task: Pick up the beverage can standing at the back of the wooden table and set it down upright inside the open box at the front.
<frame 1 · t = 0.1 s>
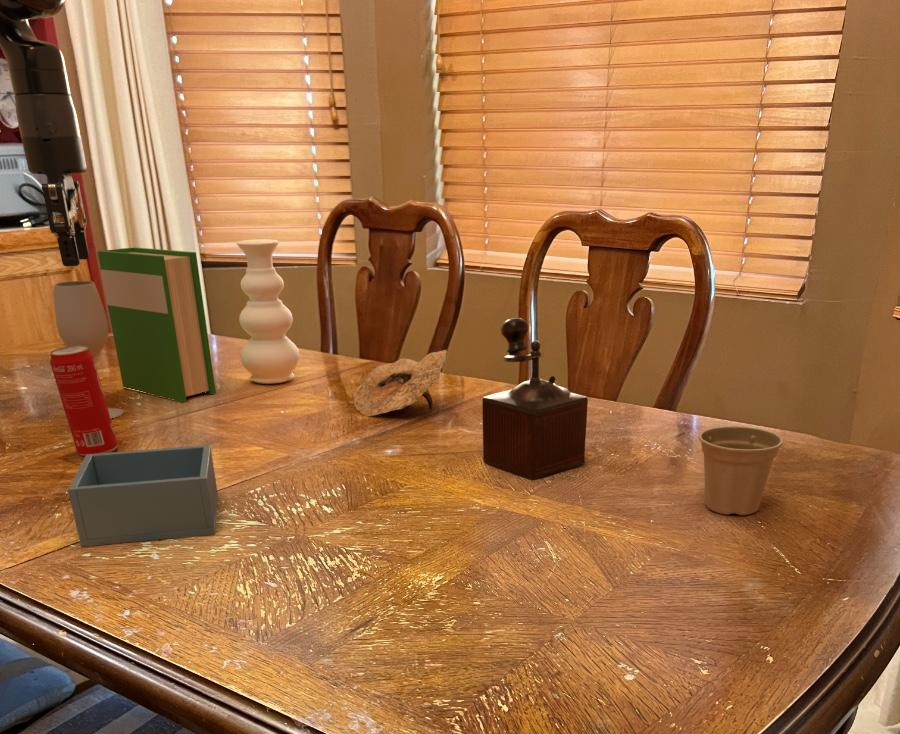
hand: (76, 262, 123), 25 cm above the table, tool pointing down, fingers open, 8 cm apart
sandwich: (397, 409, 146), on the table
hardback book: (169, 392, 159), on the table
manual coffee grinder: (522, 459, 121), on the table
beverage can: (95, 453, 127), on the table
open box: (154, 520, 103), on the table
vase: (273, 381, 165), on the table
wineglass: (101, 416, 145), on the table
flower pot: (730, 508, 104), on the table
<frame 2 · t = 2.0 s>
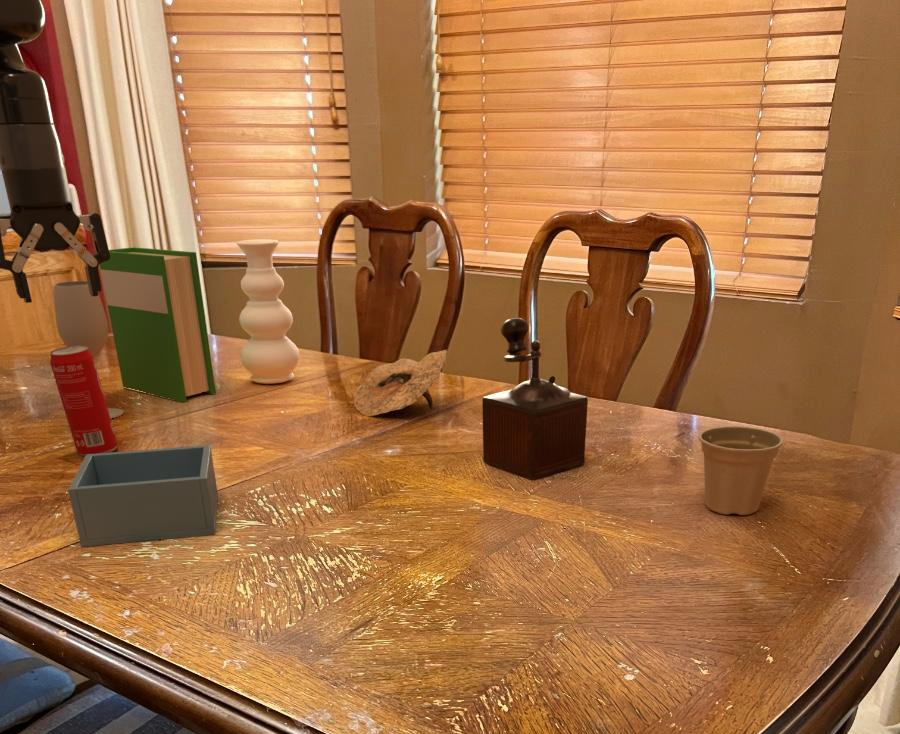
hand: (61, 298, 117), 22 cm above the table, tool pointing down, fingers open, 8 cm apart
nothing on the table moved.
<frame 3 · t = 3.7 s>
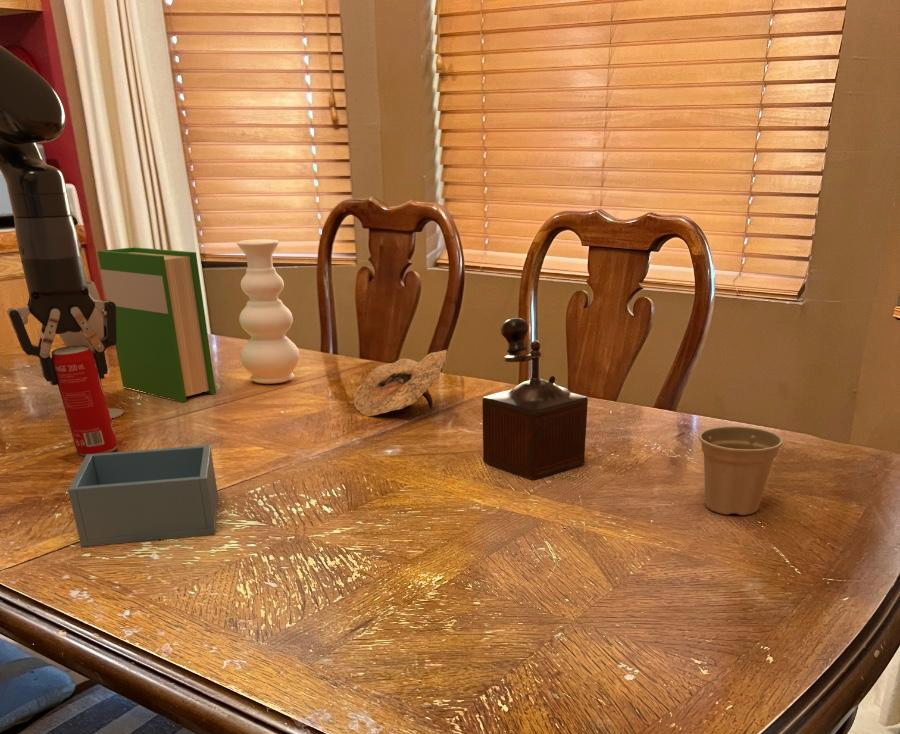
hand: (77, 380, 122), 11 cm above the table, tool pointing down, fingers closed on beverage can, 5 cm apart
beverage can: (95, 453, 127), on the table, touching gripper
everything else where it was.
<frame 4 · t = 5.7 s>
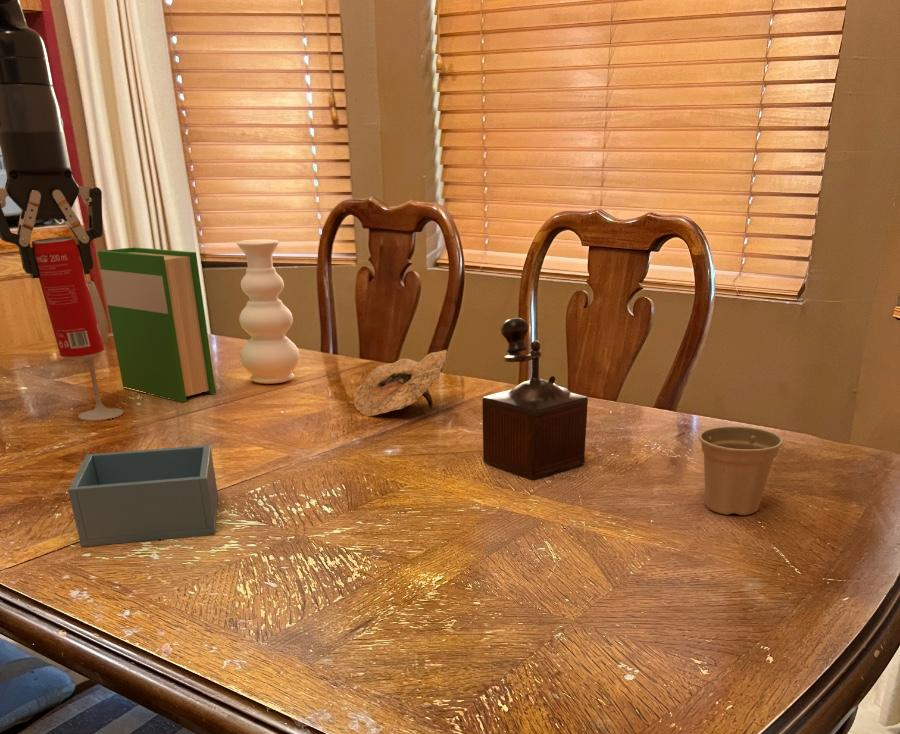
hand: (60, 275, 112), 25 cm above the table, tool pointing down, fingers closed on beverage can, 5 cm apart
beverage can: (80, 357, 118), point 14 cm above the table, touching gripper
everything else where it was.
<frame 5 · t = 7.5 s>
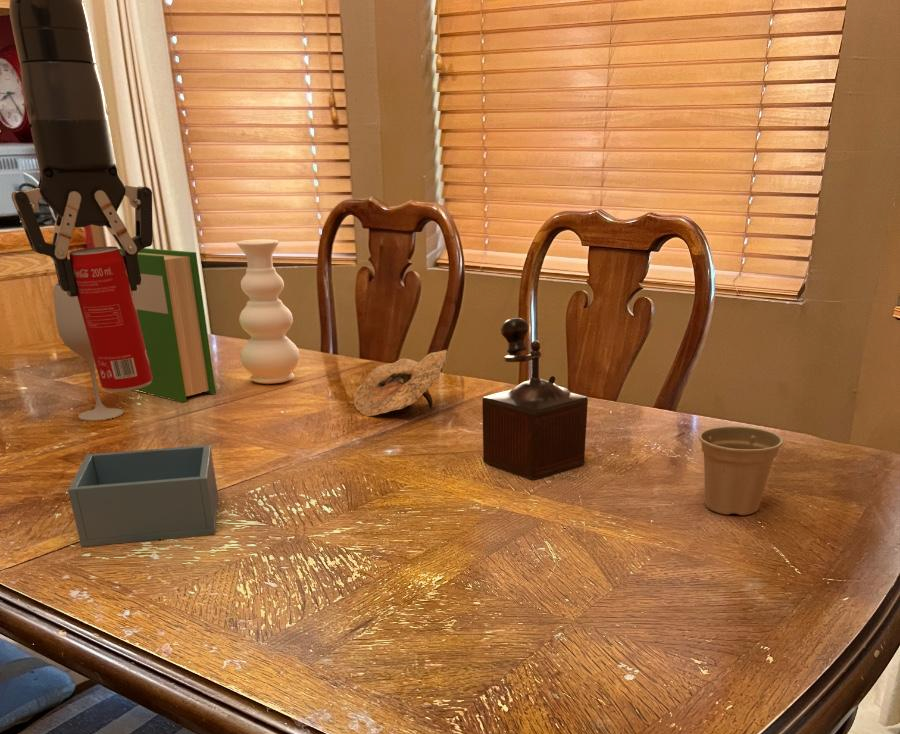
hand: (102, 292, 94), 25 cm above the table, tool pointing down, fingers closed on beverage can, 5 cm apart
beverage can: (124, 389, 99), point 15 cm above the table, touching gripper
everything else where it was.
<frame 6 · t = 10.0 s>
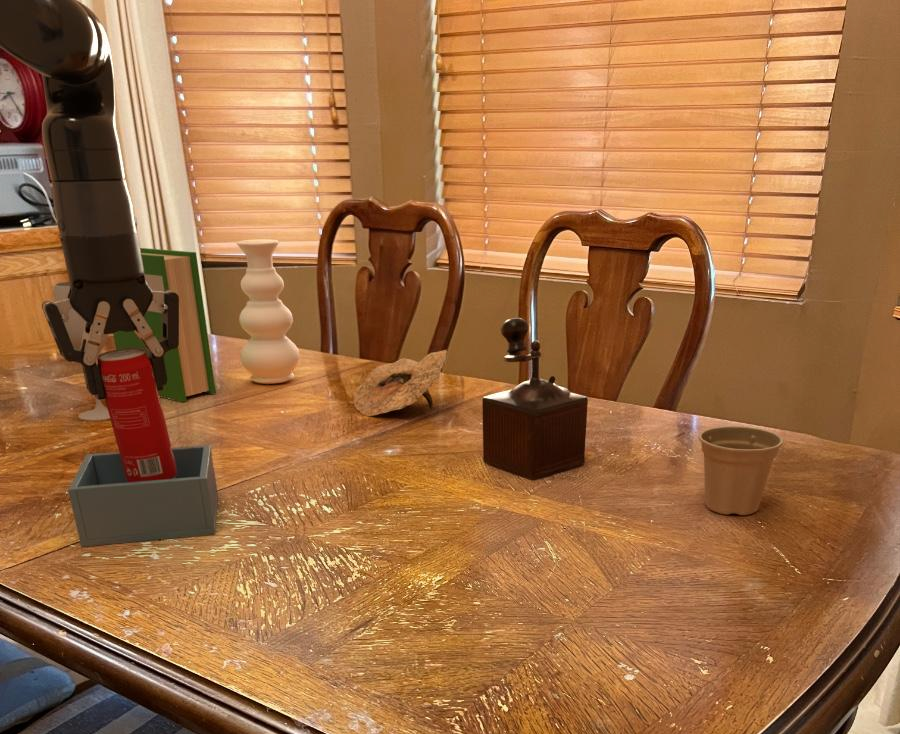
hand: (129, 393, 96), 15 cm above the table, tool pointing down, fingers closed on beverage can, 5 cm apart
beverage can: (149, 483, 101), point 5 cm above the table, touching gripper
everything else where it was.
when the fingers open (11 cm above the table, at t = 11.6 s): beverage can stays where it is, resting on open box.
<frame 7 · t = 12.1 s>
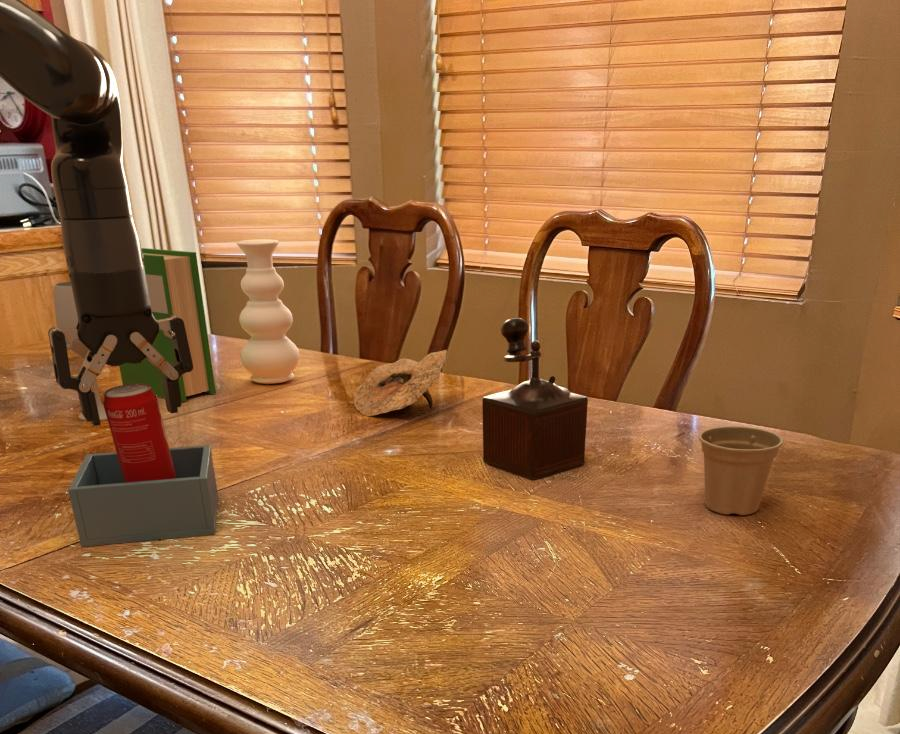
hand: (134, 417, 97), 12 cm above the table, tool pointing down, fingers open, 8 cm apart
beverage can: (155, 514, 103), point 1 cm above the table, touching open box
everything else where it was.
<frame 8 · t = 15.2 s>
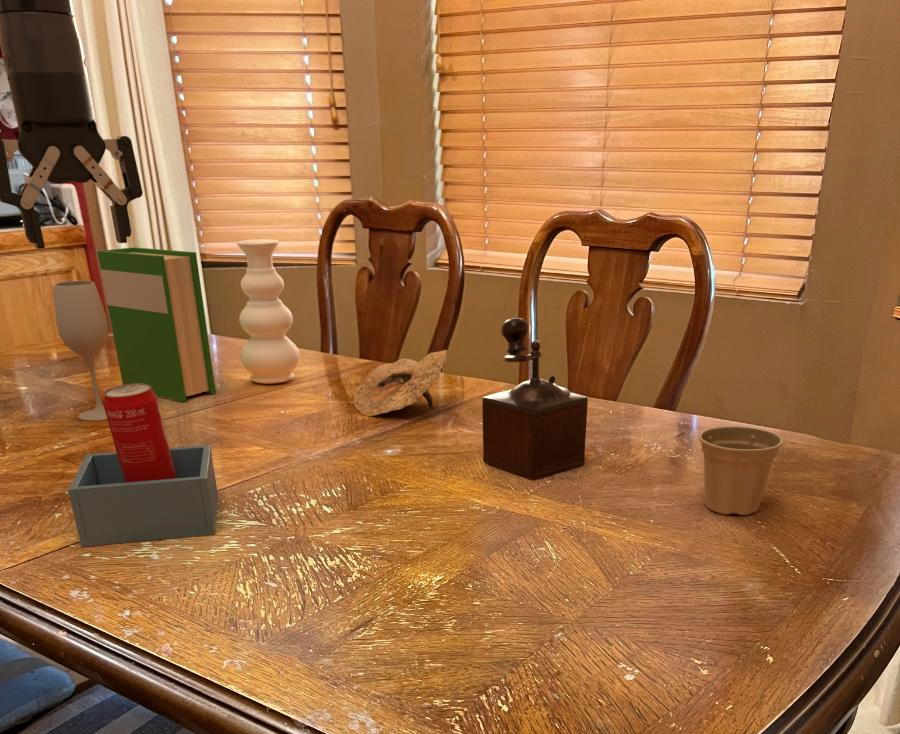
hand: (81, 245, 93), 30 cm above the table, tool pointing down, fingers open, 8 cm apart
nothing on the table moved.
at the end: beverage can inside the target area in the open box (0.4 cm from its centre), point 0.6 cm above the open box's base; beverage can tilted 0°; the gripper is holding nothing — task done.
